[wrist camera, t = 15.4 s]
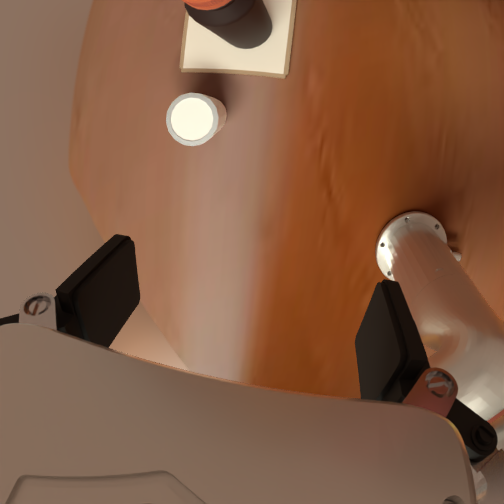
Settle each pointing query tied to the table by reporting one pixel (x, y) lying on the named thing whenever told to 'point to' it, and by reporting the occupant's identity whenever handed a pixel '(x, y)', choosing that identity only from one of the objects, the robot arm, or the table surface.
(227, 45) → the plate
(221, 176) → the table surface
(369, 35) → the table surface
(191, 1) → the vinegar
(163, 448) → the robot arm
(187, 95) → the short white cylinder
